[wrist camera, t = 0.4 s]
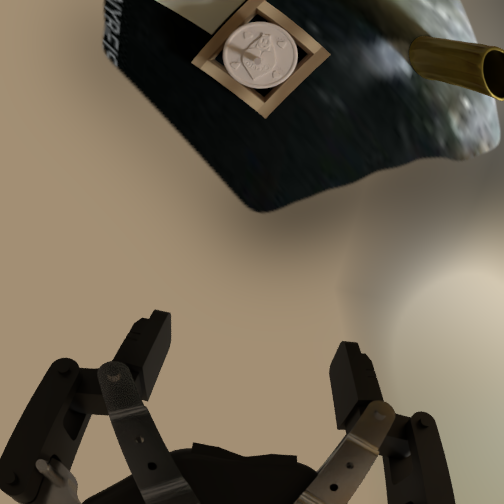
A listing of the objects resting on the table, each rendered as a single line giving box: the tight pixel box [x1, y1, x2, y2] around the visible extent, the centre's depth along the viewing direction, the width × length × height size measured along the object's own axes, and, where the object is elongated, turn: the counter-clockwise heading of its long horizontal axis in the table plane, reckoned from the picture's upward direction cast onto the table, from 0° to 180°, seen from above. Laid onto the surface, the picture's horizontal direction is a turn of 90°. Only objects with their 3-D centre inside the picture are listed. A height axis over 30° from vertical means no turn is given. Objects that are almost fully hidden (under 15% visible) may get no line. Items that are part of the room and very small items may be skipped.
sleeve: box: [191, 0, 331, 118], centre depth 26 cm, size 10×10×4 cm
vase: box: [409, 36, 504, 101], centre depth 20 cm, size 6×6×14 cm
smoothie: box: [223, 22, 298, 89], centre depth 23 cm, size 6×6×14 cm
